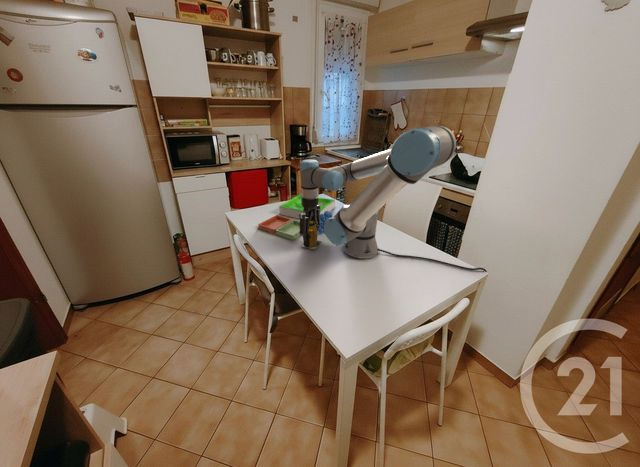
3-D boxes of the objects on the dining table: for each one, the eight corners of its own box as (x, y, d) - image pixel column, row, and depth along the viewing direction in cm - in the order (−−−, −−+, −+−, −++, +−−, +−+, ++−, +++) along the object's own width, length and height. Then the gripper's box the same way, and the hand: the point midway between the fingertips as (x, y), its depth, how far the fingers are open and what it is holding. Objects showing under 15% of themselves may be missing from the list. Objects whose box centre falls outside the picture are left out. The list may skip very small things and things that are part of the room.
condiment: (300, 246, 123) (299, 223, 118) (309, 238, 130) (308, 216, 124) (314, 250, 120) (313, 226, 115) (322, 241, 127) (322, 219, 121)
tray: (300, 201, 177) (300, 193, 174) (334, 207, 167) (334, 200, 165) (279, 214, 157) (279, 206, 155) (317, 222, 147) (317, 214, 145)
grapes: (327, 226, 142) (328, 206, 137) (335, 231, 138) (336, 210, 132) (310, 232, 136) (310, 211, 130) (318, 237, 131) (318, 215, 126)
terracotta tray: (292, 223, 146) (292, 219, 145) (274, 233, 135) (274, 229, 134) (277, 218, 151) (277, 214, 150) (258, 228, 140) (258, 224, 139)
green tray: (310, 228, 140) (310, 224, 139) (293, 240, 129) (292, 235, 128) (293, 223, 146) (293, 219, 144) (275, 234, 134) (275, 229, 133)
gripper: (314, 189, 122) (315, 233, 133) (289, 201, 108) (291, 249, 119) (328, 192, 119) (327, 237, 129) (304, 205, 104) (305, 254, 115)
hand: (310, 243), depth 124 cm, fingers closed on condiment, 6 cm apart
